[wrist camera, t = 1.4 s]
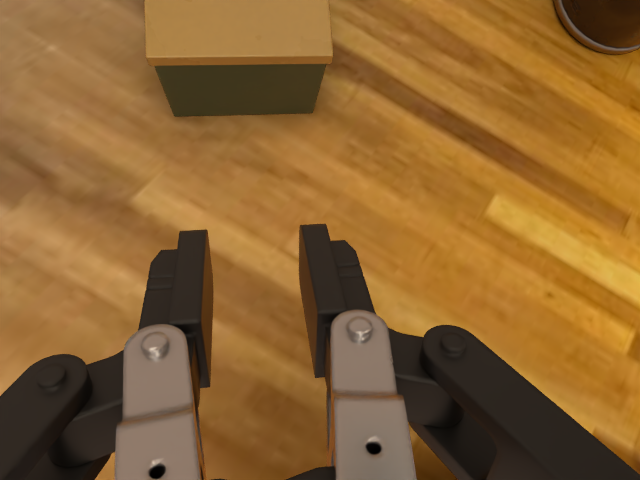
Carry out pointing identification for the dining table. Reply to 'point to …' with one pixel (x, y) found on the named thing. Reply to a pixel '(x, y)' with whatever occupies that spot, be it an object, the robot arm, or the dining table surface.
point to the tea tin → (239, 54)
